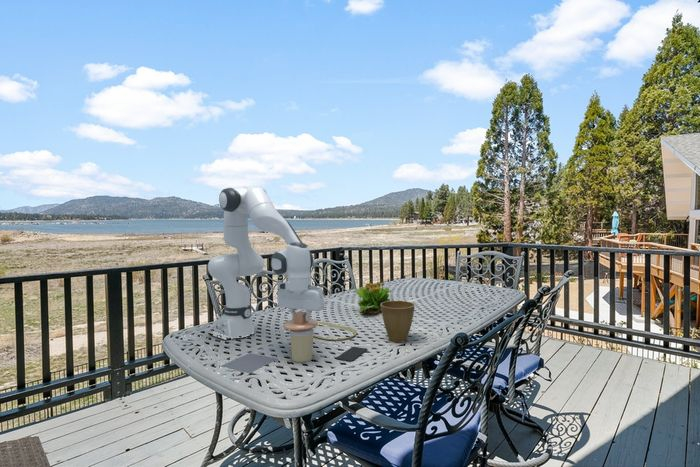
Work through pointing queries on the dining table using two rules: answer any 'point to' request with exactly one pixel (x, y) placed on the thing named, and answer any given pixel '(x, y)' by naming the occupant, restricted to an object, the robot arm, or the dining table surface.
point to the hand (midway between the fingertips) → (301, 320)
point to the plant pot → (397, 319)
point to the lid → (300, 322)
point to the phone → (351, 354)
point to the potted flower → (372, 297)
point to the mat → (249, 362)
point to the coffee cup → (301, 344)
